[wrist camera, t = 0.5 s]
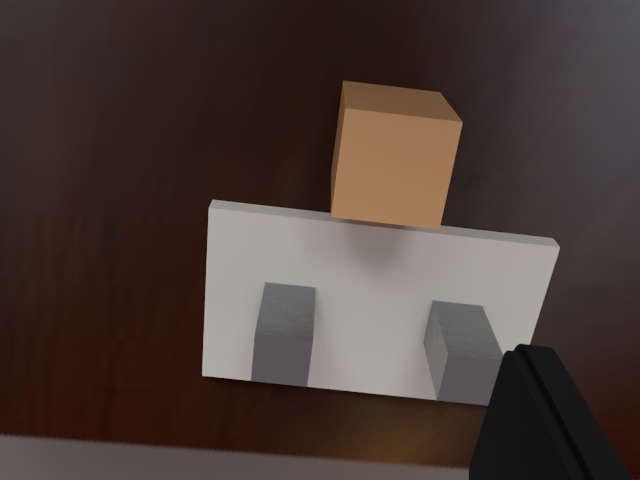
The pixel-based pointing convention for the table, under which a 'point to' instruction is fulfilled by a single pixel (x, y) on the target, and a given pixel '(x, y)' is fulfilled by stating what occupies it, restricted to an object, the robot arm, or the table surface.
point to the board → (363, 290)
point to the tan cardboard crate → (393, 155)
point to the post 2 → (461, 353)
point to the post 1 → (284, 335)
